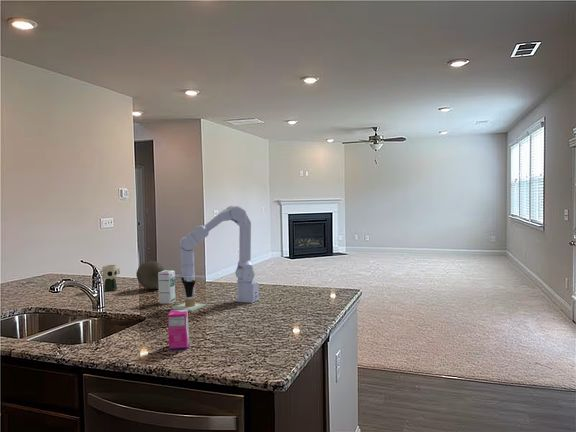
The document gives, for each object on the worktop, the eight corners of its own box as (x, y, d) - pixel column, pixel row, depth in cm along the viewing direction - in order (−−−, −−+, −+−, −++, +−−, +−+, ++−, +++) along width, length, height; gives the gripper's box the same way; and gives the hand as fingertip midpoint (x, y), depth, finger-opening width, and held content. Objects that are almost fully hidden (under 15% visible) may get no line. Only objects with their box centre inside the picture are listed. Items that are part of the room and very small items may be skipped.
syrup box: (170, 303, 203) (169, 272, 203) (158, 303, 205) (157, 271, 204) (176, 301, 209) (175, 270, 208) (164, 300, 210) (163, 269, 209)
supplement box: (171, 344, 147) (170, 309, 147) (189, 343, 148) (188, 309, 147) (168, 350, 142) (167, 314, 141) (187, 349, 142) (186, 313, 142)
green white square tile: (206, 305, 200) (206, 303, 200) (192, 311, 189) (192, 309, 189) (185, 303, 204) (185, 302, 204) (170, 309, 193) (170, 307, 193)
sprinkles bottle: (191, 303, 200) (191, 274, 199) (197, 305, 197) (196, 275, 196) (182, 305, 197) (181, 275, 196) (188, 307, 194) (187, 276, 193)
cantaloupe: (144, 286, 244) (144, 259, 243) (169, 287, 242) (168, 259, 241) (132, 292, 230) (131, 263, 229) (158, 292, 228) (157, 263, 227)
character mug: (104, 293, 229) (103, 267, 229) (97, 291, 234) (96, 266, 234) (123, 289, 238) (122, 265, 237) (116, 287, 242) (116, 263, 242)
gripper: (177, 262, 202) (178, 292, 202) (179, 267, 188) (179, 299, 188) (193, 261, 203) (194, 291, 204) (196, 266, 190) (197, 298, 190)
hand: (188, 295), depth 196 cm, fingers open, 7 cm apart
